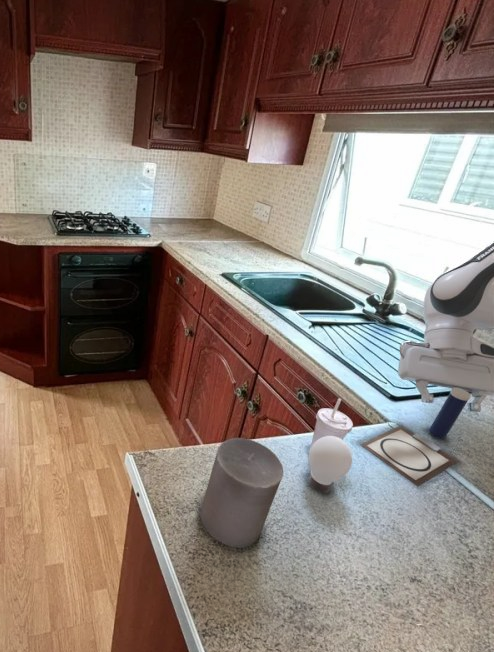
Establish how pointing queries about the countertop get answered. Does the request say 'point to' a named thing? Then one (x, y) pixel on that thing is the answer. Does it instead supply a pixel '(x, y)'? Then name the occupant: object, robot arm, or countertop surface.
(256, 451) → the pillar candle
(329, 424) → the smoothie
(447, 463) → the clipboard
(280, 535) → the countertop surface
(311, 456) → the light bulb
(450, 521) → the countertop surface
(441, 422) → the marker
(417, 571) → the countertop surface
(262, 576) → the countertop surface
